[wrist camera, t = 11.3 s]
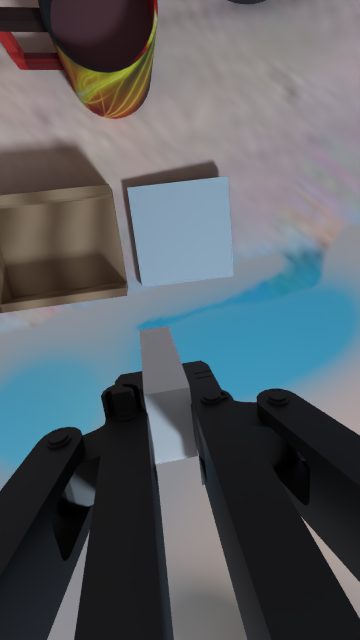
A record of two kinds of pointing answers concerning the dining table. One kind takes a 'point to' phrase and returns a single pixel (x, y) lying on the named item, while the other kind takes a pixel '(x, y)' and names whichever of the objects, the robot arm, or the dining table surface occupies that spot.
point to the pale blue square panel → (182, 231)
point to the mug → (91, 48)
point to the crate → (59, 248)
